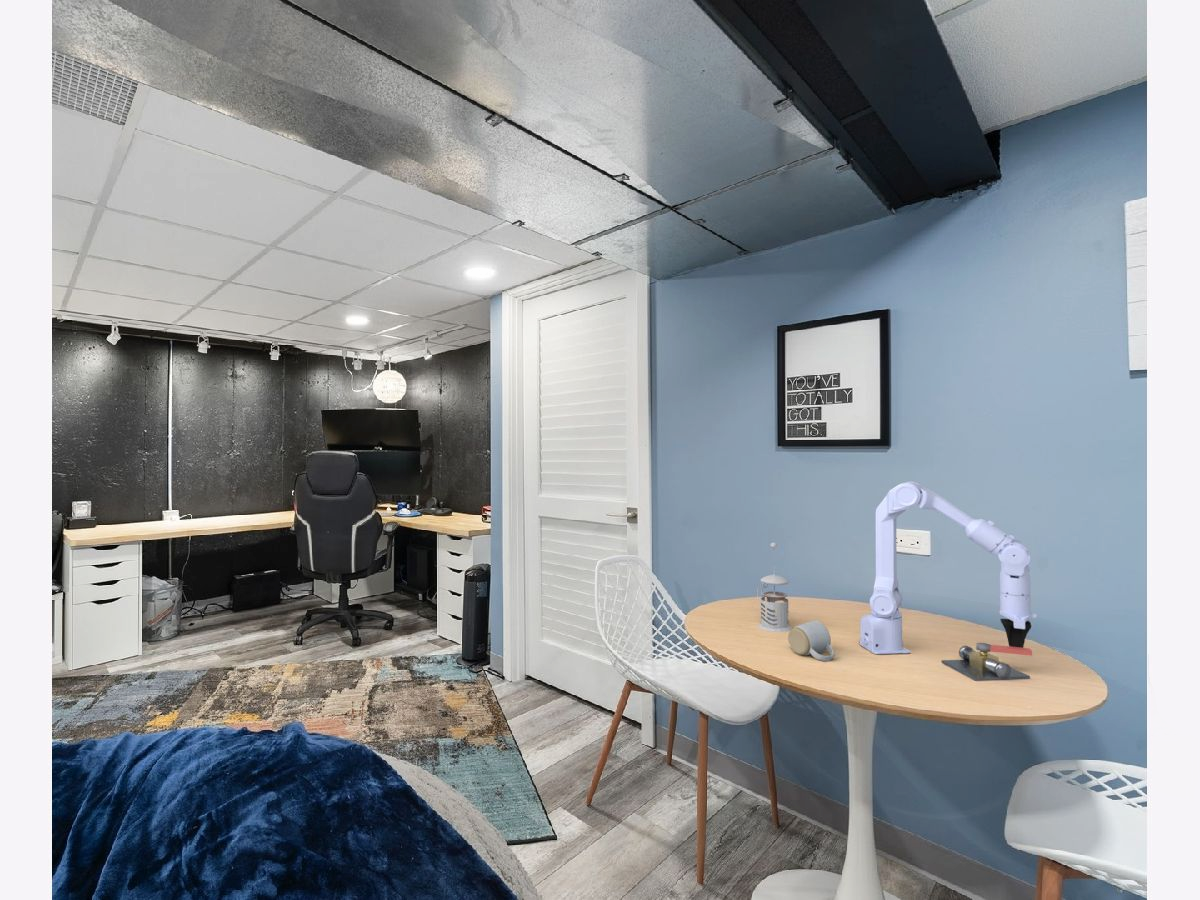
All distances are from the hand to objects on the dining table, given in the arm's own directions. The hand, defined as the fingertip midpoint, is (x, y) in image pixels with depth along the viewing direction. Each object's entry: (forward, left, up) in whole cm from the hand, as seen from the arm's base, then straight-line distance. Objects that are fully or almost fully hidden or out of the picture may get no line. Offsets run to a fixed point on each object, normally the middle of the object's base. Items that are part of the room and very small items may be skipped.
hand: (1016, 651), depth 130 cm
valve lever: (-3, 0, 0) cm, 3 cm away
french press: (-43, +40, -5) cm, 58 cm away
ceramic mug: (-41, +16, -5) cm, 44 cm away
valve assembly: (-7, +2, -5) cm, 8 cm away
